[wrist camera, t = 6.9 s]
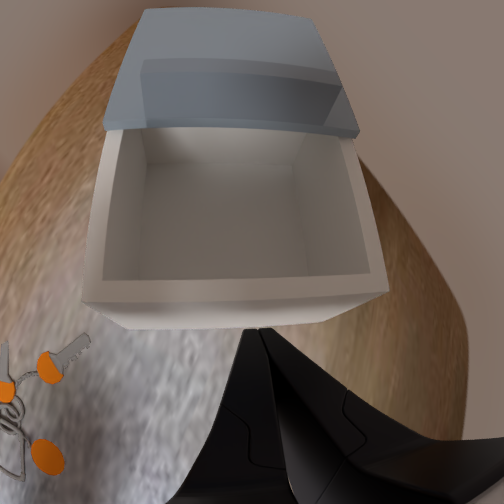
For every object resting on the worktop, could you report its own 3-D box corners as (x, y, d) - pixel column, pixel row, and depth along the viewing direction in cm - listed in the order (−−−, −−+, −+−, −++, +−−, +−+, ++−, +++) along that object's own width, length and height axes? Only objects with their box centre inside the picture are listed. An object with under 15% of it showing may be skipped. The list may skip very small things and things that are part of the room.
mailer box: (321, 322, 20) (389, 291, 12) (127, 329, 18) (81, 301, 10) (297, 163, 24) (333, 87, 16) (139, 161, 22) (122, 78, 14)
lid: (355, 138, 15) (383, 95, 12) (105, 131, 12) (90, 78, 10) (309, 25, 19) (320, -9, 16) (145, 15, 17) (144, -21, 14)
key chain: (64, 505, 12) (59, 509, 12) (-17, 455, 12) (-23, 457, 11) (100, 339, 17) (96, 337, 17) (14, 299, 17) (8, 296, 16)
